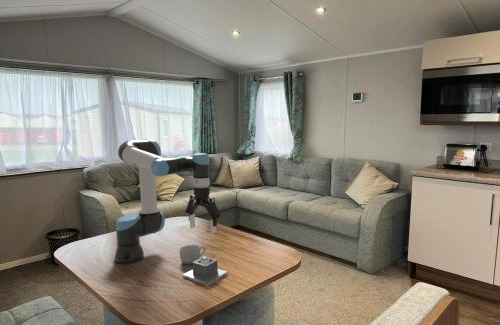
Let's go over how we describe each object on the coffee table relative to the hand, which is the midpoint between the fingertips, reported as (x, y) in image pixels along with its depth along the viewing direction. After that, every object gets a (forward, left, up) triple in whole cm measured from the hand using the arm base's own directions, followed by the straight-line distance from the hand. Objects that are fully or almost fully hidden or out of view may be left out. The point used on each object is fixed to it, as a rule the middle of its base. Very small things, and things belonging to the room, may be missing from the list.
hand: (202, 230), depth 160 cm
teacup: (-16, +9, -23) cm, 30 cm away
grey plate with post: (+1, 0, -23) cm, 23 cm away
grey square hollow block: (+1, 0, -21) cm, 21 cm away
